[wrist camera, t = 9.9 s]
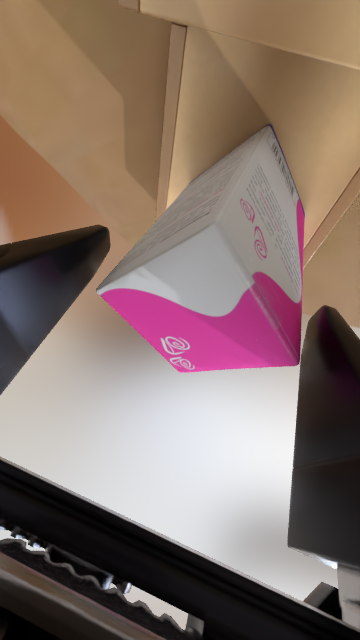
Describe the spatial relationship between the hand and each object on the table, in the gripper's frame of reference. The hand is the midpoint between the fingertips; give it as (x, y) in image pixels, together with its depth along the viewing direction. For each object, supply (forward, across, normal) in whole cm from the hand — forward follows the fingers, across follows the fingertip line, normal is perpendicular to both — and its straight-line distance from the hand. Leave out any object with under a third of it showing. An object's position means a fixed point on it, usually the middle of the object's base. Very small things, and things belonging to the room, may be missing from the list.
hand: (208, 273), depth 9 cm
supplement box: (+9, 0, 0) cm, 9 cm away
